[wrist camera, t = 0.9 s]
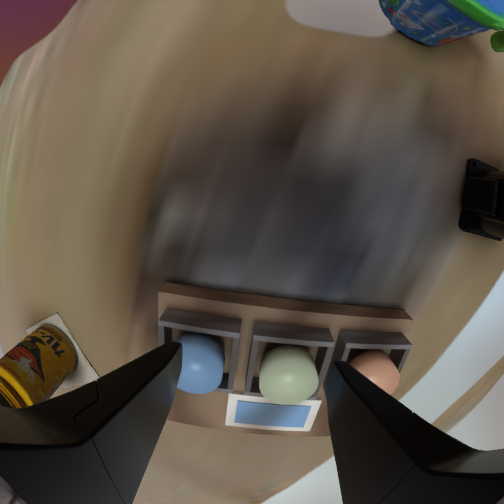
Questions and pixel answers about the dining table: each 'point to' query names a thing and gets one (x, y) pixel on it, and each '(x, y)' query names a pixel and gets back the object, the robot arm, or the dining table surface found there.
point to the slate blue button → (200, 364)
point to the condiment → (42, 365)
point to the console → (264, 340)
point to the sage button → (287, 375)
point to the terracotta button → (378, 369)
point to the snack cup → (446, 19)
